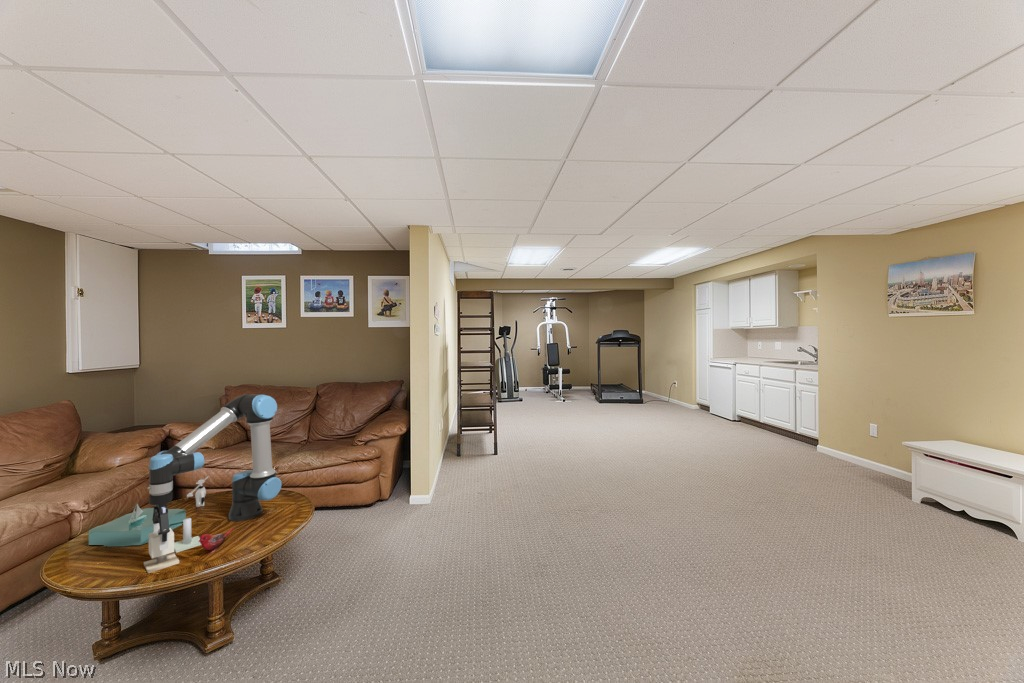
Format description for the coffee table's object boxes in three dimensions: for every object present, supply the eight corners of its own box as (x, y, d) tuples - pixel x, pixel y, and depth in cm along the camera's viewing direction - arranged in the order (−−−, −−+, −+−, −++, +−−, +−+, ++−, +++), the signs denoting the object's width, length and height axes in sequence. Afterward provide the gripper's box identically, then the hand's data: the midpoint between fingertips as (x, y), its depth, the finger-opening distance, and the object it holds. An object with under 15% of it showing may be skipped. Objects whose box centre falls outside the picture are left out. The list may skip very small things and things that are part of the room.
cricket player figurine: (186, 505, 240) (186, 478, 240) (208, 500, 247) (208, 475, 247) (188, 512, 231) (187, 484, 231) (211, 507, 237) (211, 480, 237)
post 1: (143, 564, 176) (143, 536, 176) (174, 555, 184) (173, 528, 184) (148, 573, 170) (147, 543, 169) (179, 563, 177) (179, 535, 177)
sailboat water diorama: (140, 547, 192) (140, 511, 192) (88, 546, 194) (88, 510, 194) (185, 523, 217) (185, 491, 217) (139, 522, 219) (139, 491, 219)
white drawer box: (148, 552, 176) (148, 531, 176) (170, 546, 182) (170, 525, 182) (151, 558, 171) (151, 536, 171) (174, 551, 177) (174, 530, 177)
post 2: (171, 546, 192) (171, 519, 192) (198, 538, 200) (197, 512, 200) (176, 553, 186) (175, 525, 186) (203, 545, 193) (203, 518, 193)
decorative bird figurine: (195, 560, 180) (195, 536, 180) (231, 540, 197) (231, 519, 197) (201, 560, 179) (201, 537, 179) (237, 541, 196) (236, 519, 196)
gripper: (144, 488, 182) (143, 537, 182) (154, 502, 165) (154, 557, 165) (166, 484, 188) (166, 532, 187) (178, 497, 171) (178, 550, 171)
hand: (160, 544), depth 176 cm, fingers open, 13 cm apart
